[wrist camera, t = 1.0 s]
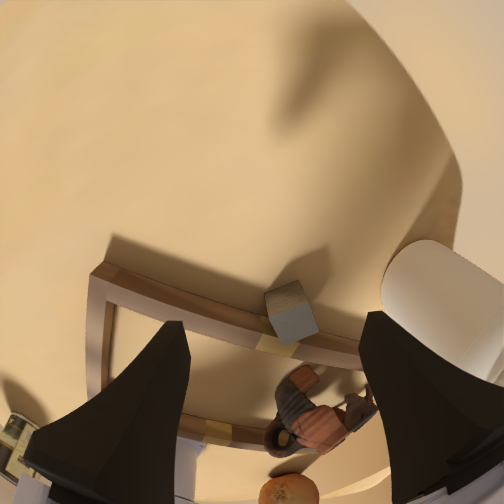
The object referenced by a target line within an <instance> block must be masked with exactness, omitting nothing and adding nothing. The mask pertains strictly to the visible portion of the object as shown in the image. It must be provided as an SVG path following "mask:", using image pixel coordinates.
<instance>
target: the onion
mask: <svg viewBox="0 0 504 504" xmlns="http://www.w3.org/2000/svg"><path fill="white" fill-rule="evenodd" d="M258 502H259V504H319V492H318V489H317V487H316V485H315V483H314V482H313V481H312V480H311V479H309V478H307V477H306V476H304V475H300V474H296V473H292V474H287V475H284V476H280V477H277V478H274V479H271V480H269V481H268V482H267V483H266V484H265V485H264V486H263V487H262V488H261V490H260V495H259V501H258Z"/></svg>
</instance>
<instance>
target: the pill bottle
mask: <svg viewBox="0 0 504 504" xmlns="http://www.w3.org/2000/svg"><path fill="white" fill-rule="evenodd" d="M381 301H382V304H383V307H384V309H385V311H386V312H387V314H388V316H389V317H391V318H392V319H393V320H394V321H396V322H397V323H398V324H399V325H400V326H402V327H403V328H404V329H405V330H407V331H408V332H409V333H410V334H411V335H413V336H414V337H415V338H416V339H418V340H419V341H420V342H421V343H423V344H424V345H425V346H427V347H428V348H429V349H431V350H432V351H434V352H435V353H436V354H438V355H439V356H441V357H442V358H444V359H445V360H447V361H448V362H450V363H452V364H453V365H455V366H457V367H458V368H460V369H462V370H464V371H466V372H468V373H470V374H472V375H474V376H476V377H478V378H480V379H483V380H485V381H487V382H490V383H493V384H496V385H498V386H502V387H504V284H502V283H501V282H500V281H498V280H497V279H495V278H494V277H492V276H491V275H489V274H488V273H487V272H485V271H484V270H482V269H481V268H479V267H478V266H476V265H474V264H473V263H471V262H470V261H468V260H467V259H465V258H464V257H462V256H461V255H459V254H457V253H456V252H454V251H452V250H451V249H449V248H448V247H446V246H444V245H443V244H441V243H438V242H436V241H433V240H419V241H416V242H413V243H411V244H409V245H408V246H406V247H405V248H404V249H402V250H401V251H400V252H399V253H398V254H397V255H396V256H395V258H394V259H393V260H392V262H391V263H390V265H389V266H388V268H387V270H386V272H385V275H384V277H383V281H382V285H381Z"/></svg>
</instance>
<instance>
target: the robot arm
mask: <svg viewBox="0 0 504 504" xmlns="http://www.w3.org/2000/svg"><path fill="white" fill-rule="evenodd" d="M358 351H359V355H360V360H361V363H362V367H363V370H364V373H365V376H366V378H367V381H368V383H369V386H370V388H371V391H372V393H373V396H374V399H375V401H376V404H377V406H378V409H379V411H380V415H381V418H382V421H383V426H384V430H385V435H386V440H387V445H388V451H389V457H390V467H391V480H392V503H393V504H407V503H408V504H504V387H502V386H498V385H496V384H493V383H490V382H487V381H485V380H483V379H480V378H478V377H476V376H474V375H472V374H470V373H468V372H466V371H464V370H462V369H460V368H458V367H457V366H455V365H453V364H452V363H450V362H448V361H447V360H445V359H444V358H442V357H441V356H439V355H438V354H436V353H435V352H434V351H432V350H431V349H429V348H428V347H427V346H425V345H424V344H423V343H421V342H420V341H419V340H418V339H416V338H415V337H414V336H413V335H411V334H410V333H409V332H408V331H407V330H405V329H404V328H403V327H402V326H400V325H399V324H398V323H397V322H396V321H394V320H393V319H392V318H391V317H389V316H388V315H387V314H385V313H384V312H383V311H373V312H368V315H367V318H366V322H365V326H364V329H363V333H362V336H361V340H360V343H359V346H358ZM190 363H191V355H190V351H189V347H188V343H187V339H186V335H185V330H184V326H183V321H171V320H167V321H166V322H165V323H164V324H163V326H162V327H161V328H160V329H159V331H158V332H157V333H156V334H155V336H154V337H153V338H152V339H151V340H150V342H149V343H148V344H147V345H146V346H145V348H144V349H143V350H142V351H141V352H140V353H139V354H138V356H137V357H136V358H135V359H134V360H133V361H132V362H131V363H130V364H129V365H128V366H127V367H126V369H125V370H124V371H123V372H122V373H121V374H120V375H119V376H118V377H117V378H116V379H115V380H113V381H112V382H111V383H110V384H109V385H108V386H107V387H106V388H104V389H103V390H102V391H101V392H100V393H98V394H97V395H96V396H94V397H93V398H92V399H90V400H89V401H87V402H86V403H85V404H83V405H82V406H80V407H79V408H77V409H76V410H74V411H73V412H71V413H69V414H68V415H66V416H64V417H62V418H60V419H59V420H57V421H55V422H53V423H50V424H48V425H46V426H44V427H42V428H39V429H37V430H35V431H33V433H32V435H31V438H30V440H29V442H28V445H27V447H26V450H25V452H24V455H23V458H22V459H23V461H24V463H26V464H27V465H28V466H29V467H31V468H32V469H33V470H35V471H36V472H38V473H39V474H40V475H42V476H44V477H45V478H47V479H48V480H50V481H51V482H52V485H51V487H49V486H47V485H45V484H44V483H42V482H40V481H38V480H36V479H34V478H33V477H31V476H29V475H27V474H26V473H24V472H22V473H21V476H20V479H19V482H18V485H17V488H16V491H15V495H14V498H13V502H12V504H198V503H195V502H194V500H195V483H196V467H197V458H198V457H199V455H200V454H201V452H202V451H203V449H204V448H205V446H206V443H204V442H200V441H195V440H191V439H186V438H182V437H178V436H177V433H178V426H179V422H180V417H181V412H182V408H183V404H184V399H185V395H186V390H187V386H188V381H189V373H190ZM423 496H425V497H423ZM421 497H422V498H421ZM419 498H420V499H419ZM416 499H418V500H416ZM414 500H416V501H414ZM412 501H413V502H412ZM409 502H411V503H409Z"/></svg>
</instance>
